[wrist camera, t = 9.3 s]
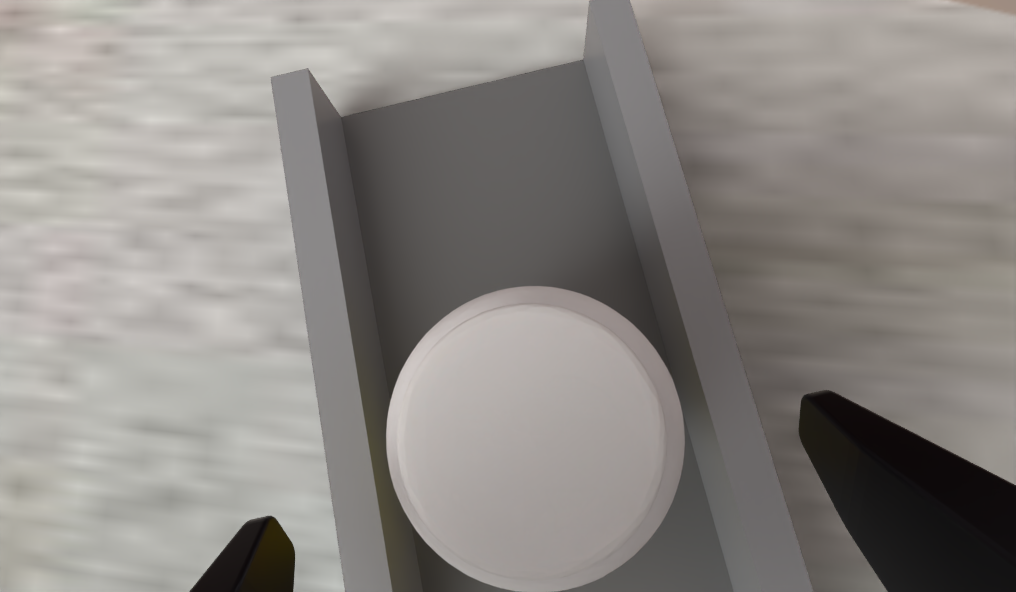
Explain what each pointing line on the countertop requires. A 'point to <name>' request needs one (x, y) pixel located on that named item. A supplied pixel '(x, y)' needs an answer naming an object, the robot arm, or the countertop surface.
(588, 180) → the cable duct
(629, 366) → the supplement bottle
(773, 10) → the countertop surface
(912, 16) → the countertop surface
